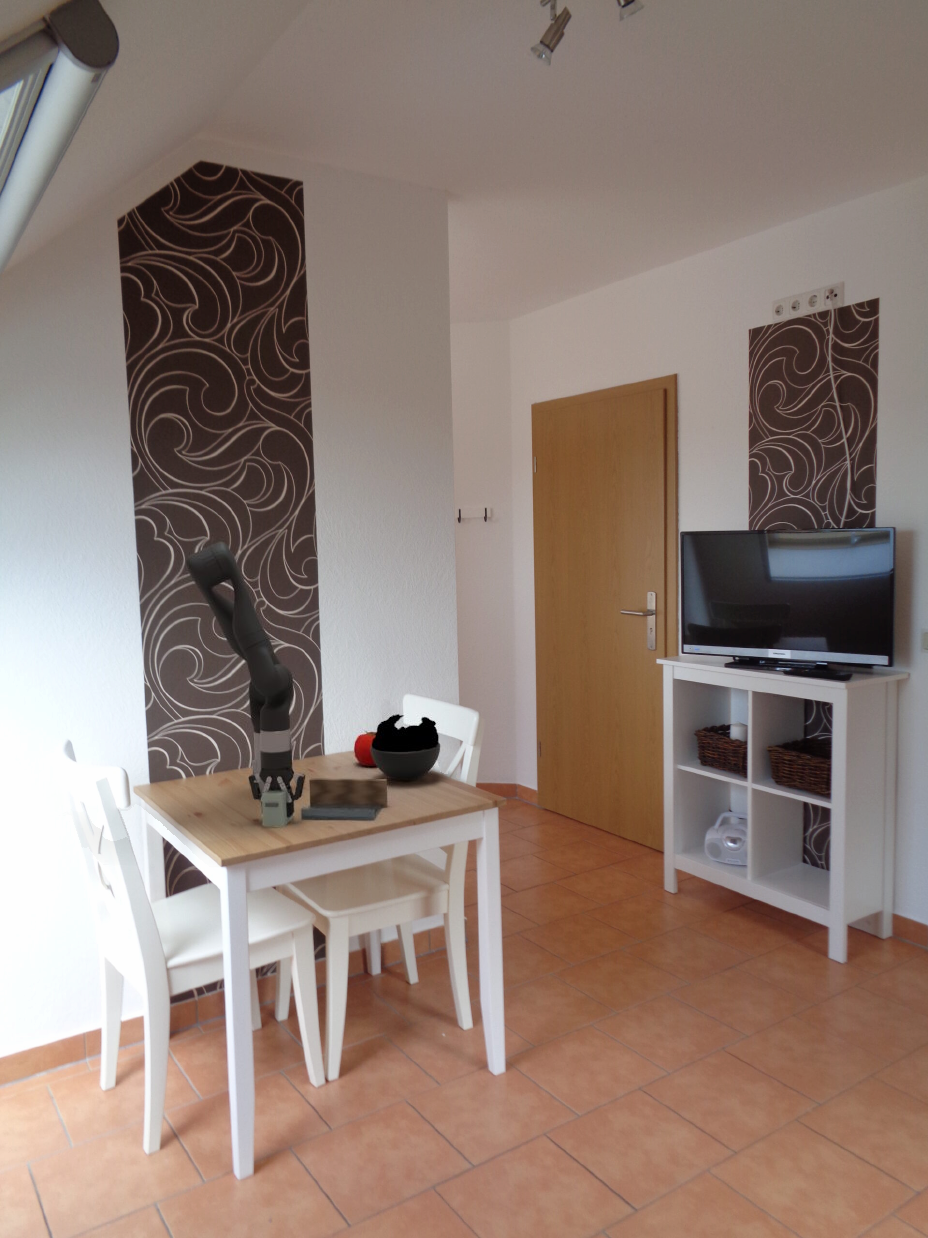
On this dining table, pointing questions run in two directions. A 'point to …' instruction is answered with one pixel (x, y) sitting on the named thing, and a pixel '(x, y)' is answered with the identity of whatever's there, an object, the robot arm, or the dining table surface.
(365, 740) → the tomato
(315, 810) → the dark grey flat slab
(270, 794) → the cabinet
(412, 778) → the coal bowl
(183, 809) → the dining table surface
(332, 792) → the wall board
